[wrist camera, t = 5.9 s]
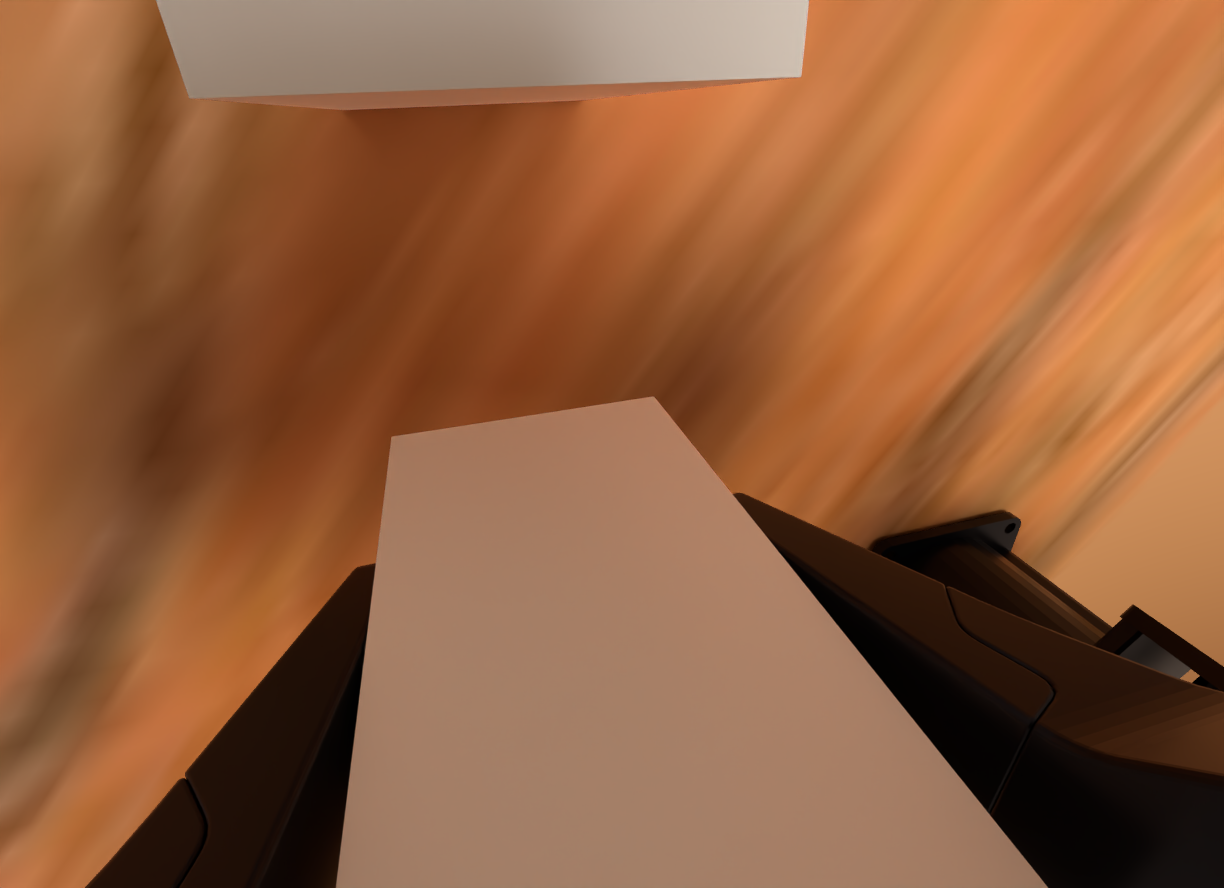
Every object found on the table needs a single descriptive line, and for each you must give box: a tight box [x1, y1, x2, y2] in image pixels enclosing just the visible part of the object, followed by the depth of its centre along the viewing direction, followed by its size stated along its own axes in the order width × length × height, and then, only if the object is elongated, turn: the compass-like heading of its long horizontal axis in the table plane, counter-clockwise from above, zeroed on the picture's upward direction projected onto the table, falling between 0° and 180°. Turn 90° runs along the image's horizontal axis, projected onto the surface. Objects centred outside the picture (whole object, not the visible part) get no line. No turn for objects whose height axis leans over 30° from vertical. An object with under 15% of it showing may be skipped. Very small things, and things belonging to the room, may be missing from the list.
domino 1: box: [156, 0, 809, 110], centre depth 8 cm, size 5×2×9 cm, turn 92°
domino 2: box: [336, 396, 1048, 888], centre depth 8 cm, size 5×2×9 cm, turn 92°
